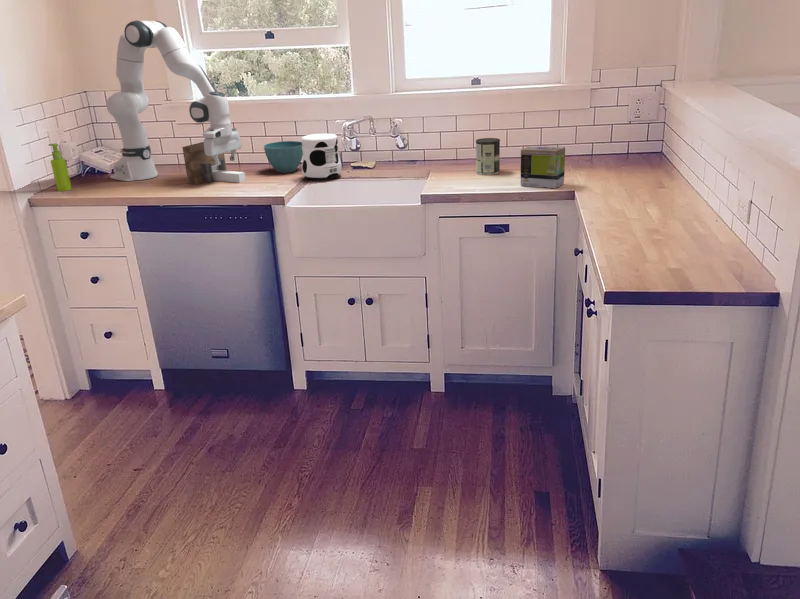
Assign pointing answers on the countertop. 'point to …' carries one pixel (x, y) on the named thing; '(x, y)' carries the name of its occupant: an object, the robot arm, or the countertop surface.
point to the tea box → (542, 166)
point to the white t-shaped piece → (227, 175)
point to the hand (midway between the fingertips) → (225, 162)
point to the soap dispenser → (60, 170)
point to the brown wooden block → (200, 163)
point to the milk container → (320, 156)
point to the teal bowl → (284, 155)
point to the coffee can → (488, 156)
